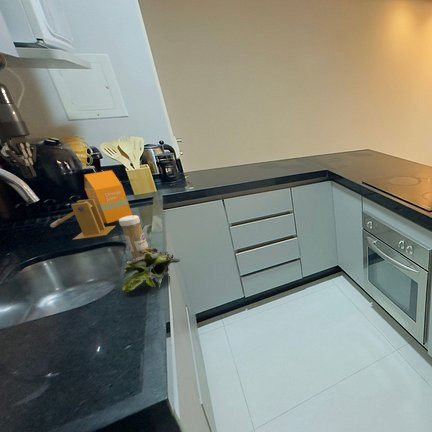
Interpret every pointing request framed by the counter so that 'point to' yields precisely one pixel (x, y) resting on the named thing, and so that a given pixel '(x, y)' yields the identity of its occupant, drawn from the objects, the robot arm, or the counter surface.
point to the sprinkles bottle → (134, 235)
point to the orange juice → (107, 195)
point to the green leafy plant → (147, 268)
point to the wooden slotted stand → (89, 219)
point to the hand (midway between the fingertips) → (30, 177)
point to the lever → (63, 218)
